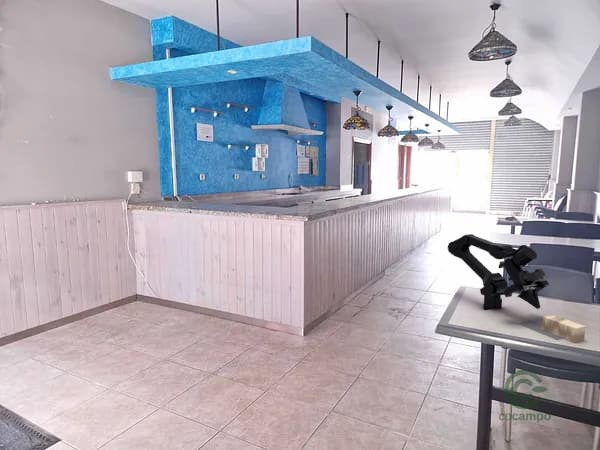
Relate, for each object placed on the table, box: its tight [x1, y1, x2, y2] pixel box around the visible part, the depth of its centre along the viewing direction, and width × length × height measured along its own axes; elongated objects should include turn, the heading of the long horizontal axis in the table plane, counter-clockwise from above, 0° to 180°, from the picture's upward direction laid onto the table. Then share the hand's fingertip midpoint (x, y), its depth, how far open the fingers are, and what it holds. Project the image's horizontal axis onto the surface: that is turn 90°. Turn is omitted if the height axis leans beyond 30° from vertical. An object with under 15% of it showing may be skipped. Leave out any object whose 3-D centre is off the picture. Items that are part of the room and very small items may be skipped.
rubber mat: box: [516, 318, 564, 341], centre depth 146 cm, size 16×12×1 cm
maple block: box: [541, 314, 586, 343], centre depth 140 cm, size 5×5×12 cm
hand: (538, 308), depth 148 cm, fingers closed
